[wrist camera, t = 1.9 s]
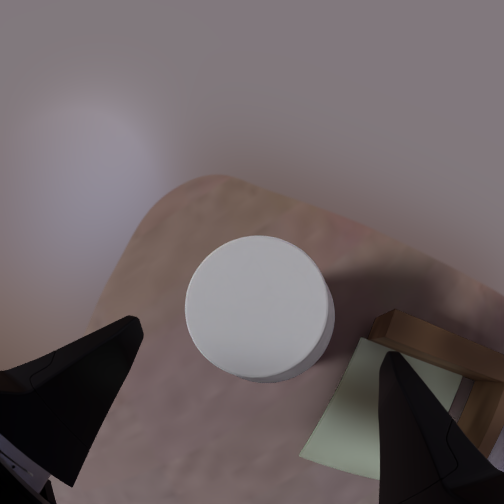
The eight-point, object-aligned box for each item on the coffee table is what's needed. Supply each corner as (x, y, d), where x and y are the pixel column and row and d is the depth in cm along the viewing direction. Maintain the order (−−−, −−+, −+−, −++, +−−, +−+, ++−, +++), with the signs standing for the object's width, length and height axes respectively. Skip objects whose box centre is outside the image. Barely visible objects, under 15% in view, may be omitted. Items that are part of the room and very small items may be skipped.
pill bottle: (307, 275, 19) (315, 200, 9) (332, 356, 16) (372, 363, 7) (226, 299, 19) (160, 248, 10) (246, 379, 17) (191, 409, 8)
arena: (425, 501, 10) (444, 522, 7) (288, 470, 14) (285, 497, 10) (493, 365, 13) (524, 363, 10) (369, 315, 17) (387, 305, 13)
